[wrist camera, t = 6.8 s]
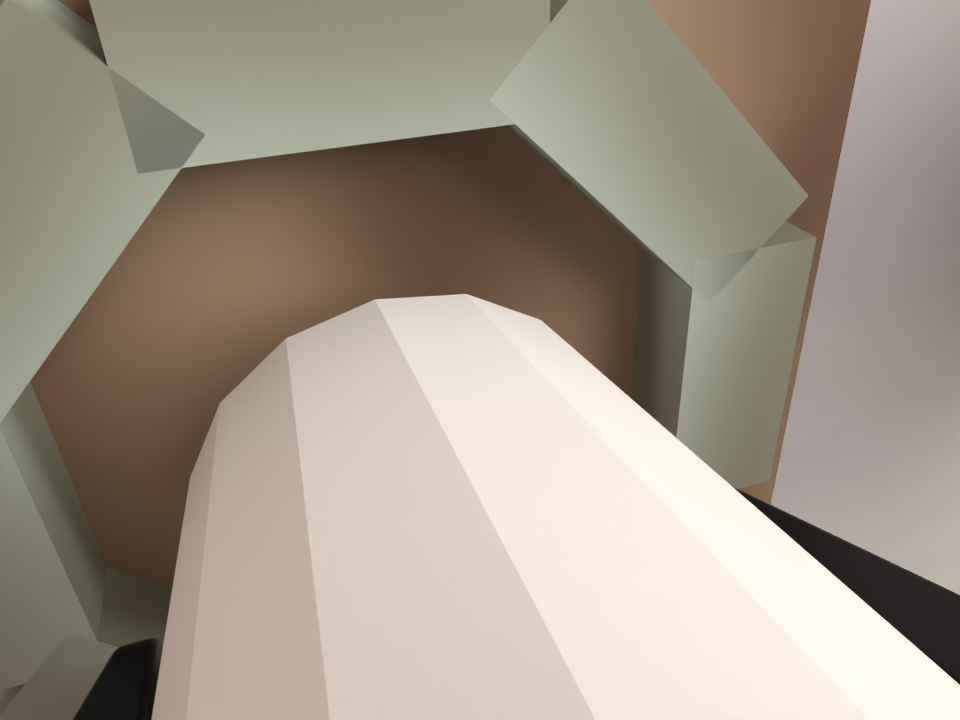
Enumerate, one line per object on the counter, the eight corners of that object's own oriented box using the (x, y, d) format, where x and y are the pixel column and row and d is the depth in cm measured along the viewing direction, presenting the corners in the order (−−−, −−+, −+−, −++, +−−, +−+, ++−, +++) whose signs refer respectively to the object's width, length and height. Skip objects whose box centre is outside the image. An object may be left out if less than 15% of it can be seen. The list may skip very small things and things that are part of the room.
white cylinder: (34, 325, 8) (-402, 1489, 2) (645, 186, 9) (1388, 649, 3) (226, 721, 11) (260, 1536, 6) (641, 579, 13) (1001, 1118, 7)
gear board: (838, -142, 11) (1100, -160, 8) (686, 781, 24) (765, 921, 21) (-534, -75, 8) (-1093, -59, 4) (140, 984, 20) (130, 1196, 17)
